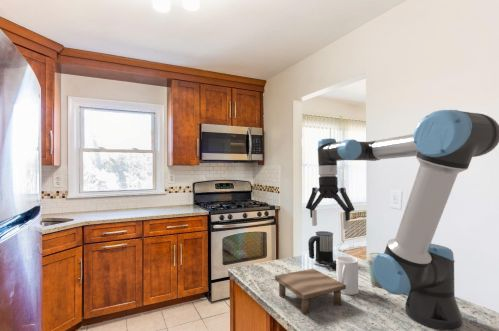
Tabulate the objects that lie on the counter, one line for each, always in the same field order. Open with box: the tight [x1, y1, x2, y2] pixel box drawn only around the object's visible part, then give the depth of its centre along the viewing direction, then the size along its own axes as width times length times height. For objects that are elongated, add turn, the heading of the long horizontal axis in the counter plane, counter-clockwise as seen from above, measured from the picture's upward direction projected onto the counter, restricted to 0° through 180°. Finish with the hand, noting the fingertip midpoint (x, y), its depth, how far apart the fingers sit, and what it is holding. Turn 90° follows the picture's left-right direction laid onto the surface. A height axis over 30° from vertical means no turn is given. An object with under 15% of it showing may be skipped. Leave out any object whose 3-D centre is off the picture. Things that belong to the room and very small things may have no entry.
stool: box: [274, 268, 346, 315], centre depth 100 cm, size 18×18×7 cm
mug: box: [335, 256, 360, 296], centre depth 107 cm, size 12×8×12 cm
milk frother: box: [307, 230, 336, 269], centre depth 138 cm, size 14×16×15 cm
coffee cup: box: [366, 252, 382, 288], centre depth 113 cm, size 8×8×12 cm
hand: (329, 227), depth 114 cm, fingers open, 13 cm apart
